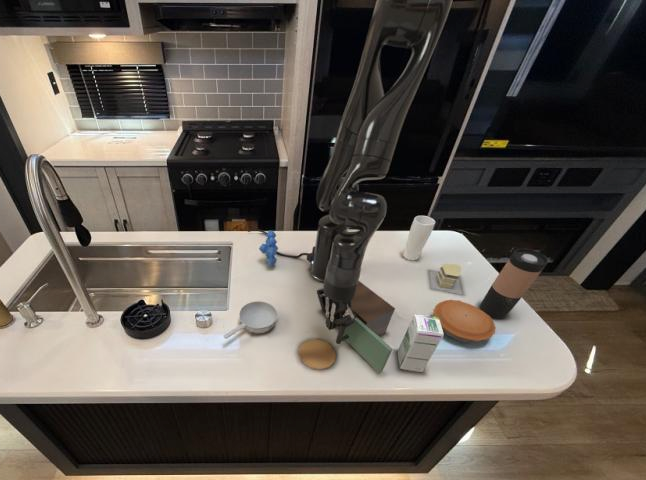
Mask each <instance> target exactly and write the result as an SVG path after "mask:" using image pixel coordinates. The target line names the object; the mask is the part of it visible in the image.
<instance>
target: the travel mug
mask: <svg viewBox="0 0 646 480" xmlns="http://www.w3.org/2000/svg"><path fill="white" fill-rule="evenodd" d="M548 263H549V259H548V258H547V256H546V255H544V254H543V253H542V252H539V251H537V250H533V249H529V248H517V249H515V250H514V251H513V253H512V254H511V256H510V257H509V259H508V260H507V262H506V263H505V265H503V267H502V269H501V271H500V272H499V274H497V276H496V278H495V279H494V281H493V283H492V284H491V285H490V287H489V289H488V290H487V292H486V294H485V295H484V297H483V299H482V301H481V302H480V304H479V306H478V309H480V310H482V311H483V312H485V313H486V314H487V315H489V316H490V317H491V319H492V320H503V319H505V318H507V316H508V315H509V314H510V312H511V311H512V310H513V309H514V307H516V305H517V304H518V303H519V301H520V300H522V298H523V297H524V295H525V294H526V293H527V291H528V290H529V289H530V288H531V286H532V285H533V283H534V282H535V281H536V280H537V278H538V277H539V276H540V275H541V273H542V272H543V270H544V269H545V267H547V265H548Z"/></svg>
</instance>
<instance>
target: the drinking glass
mask: <svg viewBox="0 0 646 480" xmlns="http://www.w3.org/2000/svg"><path fill="white" fill-rule="evenodd" d="M435 224H436V220H435V219H433V218H432V217H430V216H427V215H417V216H415V217H414V218H413V221H412V223H411V226H410V228H409V233H408V236H407V240H406V243H405V247H404V251H403V253H402V256H403V258H405V260H408V261H417V260H418V259H419V258H420V255H421V254H422V251H423V250H424V247H425V246H426V244H427V242H428V240H429V238H430V237H431V234H432V232H433V230H434V227H435Z"/></svg>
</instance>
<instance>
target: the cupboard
mask: <svg viewBox="0 0 646 480" xmlns="http://www.w3.org/2000/svg"><path fill="white" fill-rule="evenodd" d="M324 304H325V305H326V302H324ZM351 304H352V306H351V308H350V309H351V311H352V313H355V314H356V315H357V318H358V319H359V320H360V321H361V322H363V323H364V324H365V325H366V326H367V327H368V328H369V329H371V330H372V331H373V332H374V333H375V334H376V335H378V336H379V337H380V338H381V337H382V336H384V335H385V334H386V332H387V329H388V327H389V325H390V322H391V320H392V317H393V315H394V313H395V310H396V308H395V307H394V305H391V303H389V302H388V301H386V300H385V299H383V297H381V296H380V295H379V294H377V293H376V292H374V291H373V290H372V289H370V288H369V287H368V286H367V285H365V284H364V283H362V282H361V280H359V281H358V284H357V288H356V291H355V295H354V297H353V298H352V300H351ZM320 313H321V314H322V315H323V316H324V317H326V312H323V311H322V308H321V310H320ZM345 313H346V311H344V312H343V313H342V314H341V317H343V316H344V314H345ZM326 318H327V317H326ZM344 323H345V322H344ZM339 327H340V324H337V327H336V329H338V330H339Z"/></svg>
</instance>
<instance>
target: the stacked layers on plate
mask: <svg viewBox="0 0 646 480" xmlns="http://www.w3.org/2000/svg"><path fill="white" fill-rule="evenodd" d="M462 270H463V269H462V266H460V265H458V264H456V263H442V264H441V267H440V268H439V271H438V272H437V271H430V270H429V277H430V286H431V289H432V290H436V291H441V292H447V293H450V294H451V293H452V294H458V295H463V293H462V288H461V284H460V280H459V277H460V275H461V273H462Z"/></svg>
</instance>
